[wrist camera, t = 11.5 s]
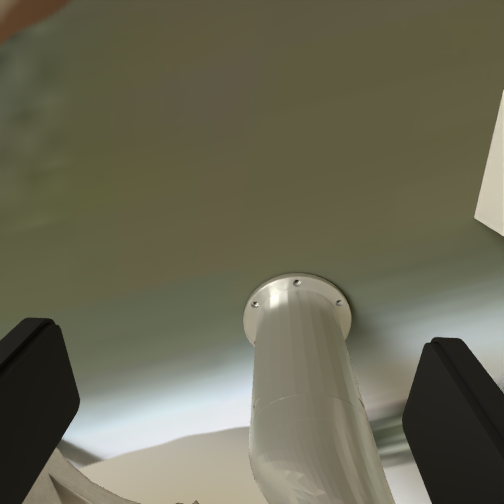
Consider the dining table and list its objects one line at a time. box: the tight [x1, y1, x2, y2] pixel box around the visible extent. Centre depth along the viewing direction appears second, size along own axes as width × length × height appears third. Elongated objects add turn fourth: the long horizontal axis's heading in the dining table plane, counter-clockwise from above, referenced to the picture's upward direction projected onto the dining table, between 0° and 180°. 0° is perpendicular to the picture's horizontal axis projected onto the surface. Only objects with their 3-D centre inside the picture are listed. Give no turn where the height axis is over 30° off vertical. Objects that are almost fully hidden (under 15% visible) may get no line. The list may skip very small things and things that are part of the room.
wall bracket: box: [22, 447, 199, 504], centre depth 54 cm, size 22×4×30 cm
